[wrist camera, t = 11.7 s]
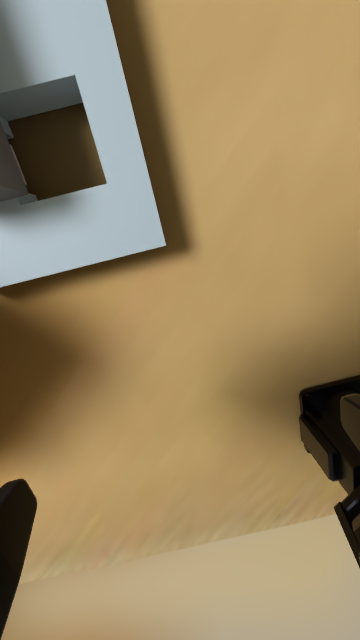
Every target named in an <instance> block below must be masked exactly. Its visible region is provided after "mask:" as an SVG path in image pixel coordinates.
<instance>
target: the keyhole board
mask: <svg viewBox="0 0 360 640" xmlns="http://www.w3.org/2000/svg"><path fill="white" fill-rule="evenodd" d="M80 103H83V104H84V107H85V111H86V114H87V117H88V121H89V124H90V128H91V131H92V134H93V138H94V141H95V144H96V148H97V151H98V155H99V158H100V161H101V165H102V168H103V172H104V175H105V178H106V182H107V184H103V185H99V186H95V187H91V188H87V189H83V190H79V191H75V192H71V193H67V194H63V195H59V196H55V197H52V198H48V199H44V200H40V201H38V200H37V197H36V195H33V194H29V195H25V196H21V197H17V198H13V199H9V200H5V201H1V202H0V287H3V286H7V285H11V284H15V283H19V282H23V281H27V280H31V279H35V278H39V277H43V276H47V275H51V274H55V273H59V272H63V271H67V270H71V269H75V268H79V267H83V266H87V265H91V264H95V263H99V262H103V261H107V260H111V259H115V258H119V257H123V256H126V255H130V254H134V253H138V252H142V251H146V250H150V249H154V248H158V247H162V246H166V243H165V239H164V235H163V231H162V227H161V223H160V219H159V215H158V210H157V206H156V202H155V198H154V194H153V190H152V186H151V182H150V178H149V174H148V170H147V166H146V162H145V158H144V153H143V149H142V145H141V141H140V137H139V133H138V129H137V125H136V121H135V117H134V113H133V109H132V105H131V101H130V96H129V92H128V88H127V84H126V80H125V76H124V72H123V68H122V64H121V60H120V56H119V52H118V48H117V44H116V40H115V35H114V31H113V27H112V23H111V19H110V15H109V11H108V7H107V3H106V0H0V121H1V124H2V127H3V129H4V132H5V134H6V137H7V139H12V138H14V137H13V135H12V132H11V129H10V127H9V124H8V121H12V120H16V119H20V118H24V117H28V116H32V115H36V114H40V113H44V112H48V111H52V110H56V109H60V108H64V107H68V106H72V105H76V104H80Z"/></svg>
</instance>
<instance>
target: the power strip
mask: <svg viewBox="0 0 360 640" xmlns="http://www.w3.org/2000/svg"><path fill="white" fill-rule="evenodd" d="M26 185H27V183H26V181H25V178H24V176H23V173H22V170H21V168H20V165H19V163H18V160H17V157H16V155H15V152H14V150H13V147H12V145H10V144H9V142H8V139H7V137H6V134H5V132H4V129H3V127H2V124H1V121H0V202H1V201H5V200H9V199H13V198H17V197H21V196H25V195H29V193H28V191H27V188H26Z"/></svg>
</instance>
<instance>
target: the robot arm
mask: <svg viewBox="0 0 360 640" xmlns="http://www.w3.org/2000/svg"><path fill="white" fill-rule="evenodd" d="M306 395H308V396H307V397H305V396H306ZM299 399H300V409H301V415H300V417H299V422H300V432H301V440H302V441H303V443H304V447H305V449H306V451H307V452H308V453H311V454H312V456H313V457H314V459H315V460H316V461H317V463H318V464H319V466H320V467H321V468H322V470H323V471H324V473H325V474H326V476H327V477H328V478H329V479H330V480H331V481H333V482H334V481H339V483H340V484H341V486H342V487H343V488H344V490H345V491H346V492H347V494H348V496H347V497H346V498H345V499H344V500H343V501H342V502H339V503H338V504H337V505H336V506H335V507H334V509H335V512H336V514H337V516H338V519H339V521H340V524H341V526H342V528H343V530H344V533H345V535H346V537H347V540H348V542H349V544H350V547H351V549H352V551H353V553H354V556H355V558H356V560H357V563H358V565H359V568H360V376H356V377H352V378H348V379H344V380H340V381H336V382H332V383H328V384H324V385H320V386H316V387H312V388H309V389H305V390H302V391H301V392H300V394H299ZM36 509H37V500H36V497H35V495H34V494H33V492H32V490H31V489H30V487H29V485H28V483H27V482H26V480H24V479H17V480H13V481H10V482H7V483H6V484H4V485H3V486H2V487H1V488H0V640H1V637H2V634H3V630H4V628H5V624H6V621H7V618H8V615H9V612H10V609H11V606H12V602H13V599H14V596H15V593H16V590H17V587H18V583H19V580H20V576H21V572H22V569H23V565H24V560H25V556H26V552H27V548H28V543H29V539H30V535H31V531H32V526H33V522H34V518H35V514H36Z"/></svg>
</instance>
